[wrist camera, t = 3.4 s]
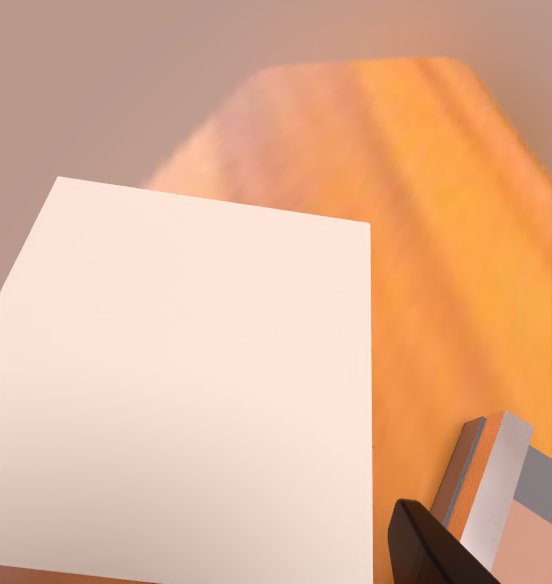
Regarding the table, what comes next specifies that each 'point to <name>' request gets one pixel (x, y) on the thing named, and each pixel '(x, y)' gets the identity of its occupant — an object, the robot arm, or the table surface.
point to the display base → (500, 499)
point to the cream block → (186, 392)
